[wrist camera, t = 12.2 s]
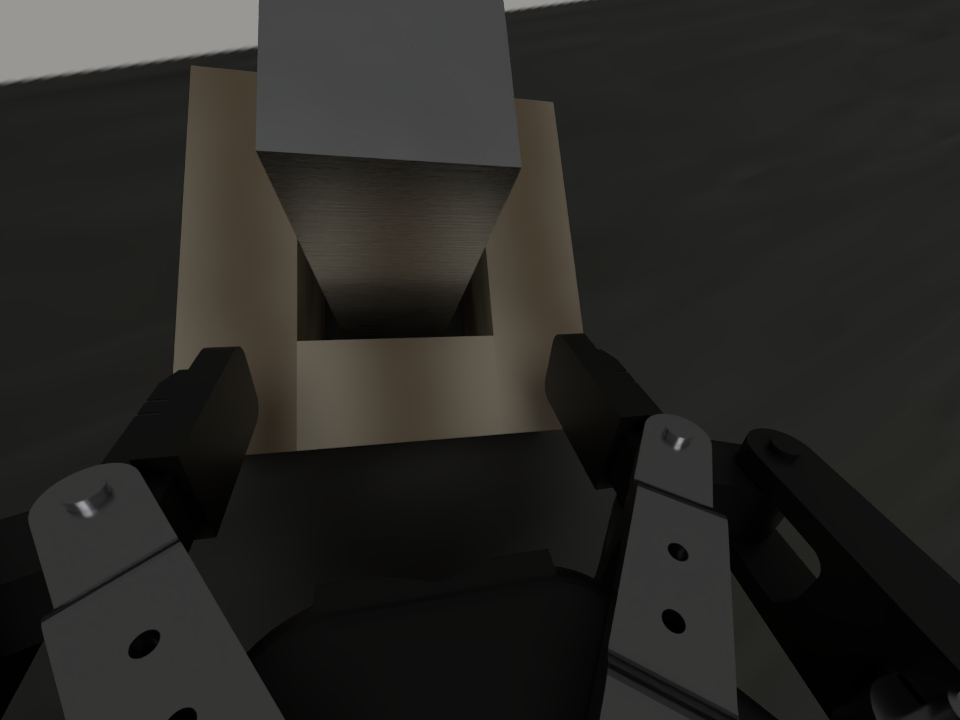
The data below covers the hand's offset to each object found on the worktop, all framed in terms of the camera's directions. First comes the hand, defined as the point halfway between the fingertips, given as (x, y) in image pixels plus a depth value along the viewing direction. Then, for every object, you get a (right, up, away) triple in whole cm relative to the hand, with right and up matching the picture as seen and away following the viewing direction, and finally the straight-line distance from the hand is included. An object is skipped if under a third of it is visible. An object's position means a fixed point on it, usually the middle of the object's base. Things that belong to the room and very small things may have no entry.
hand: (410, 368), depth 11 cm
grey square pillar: (-3, +3, +10) cm, 11 cm away
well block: (-2, +3, +10) cm, 11 cm away
